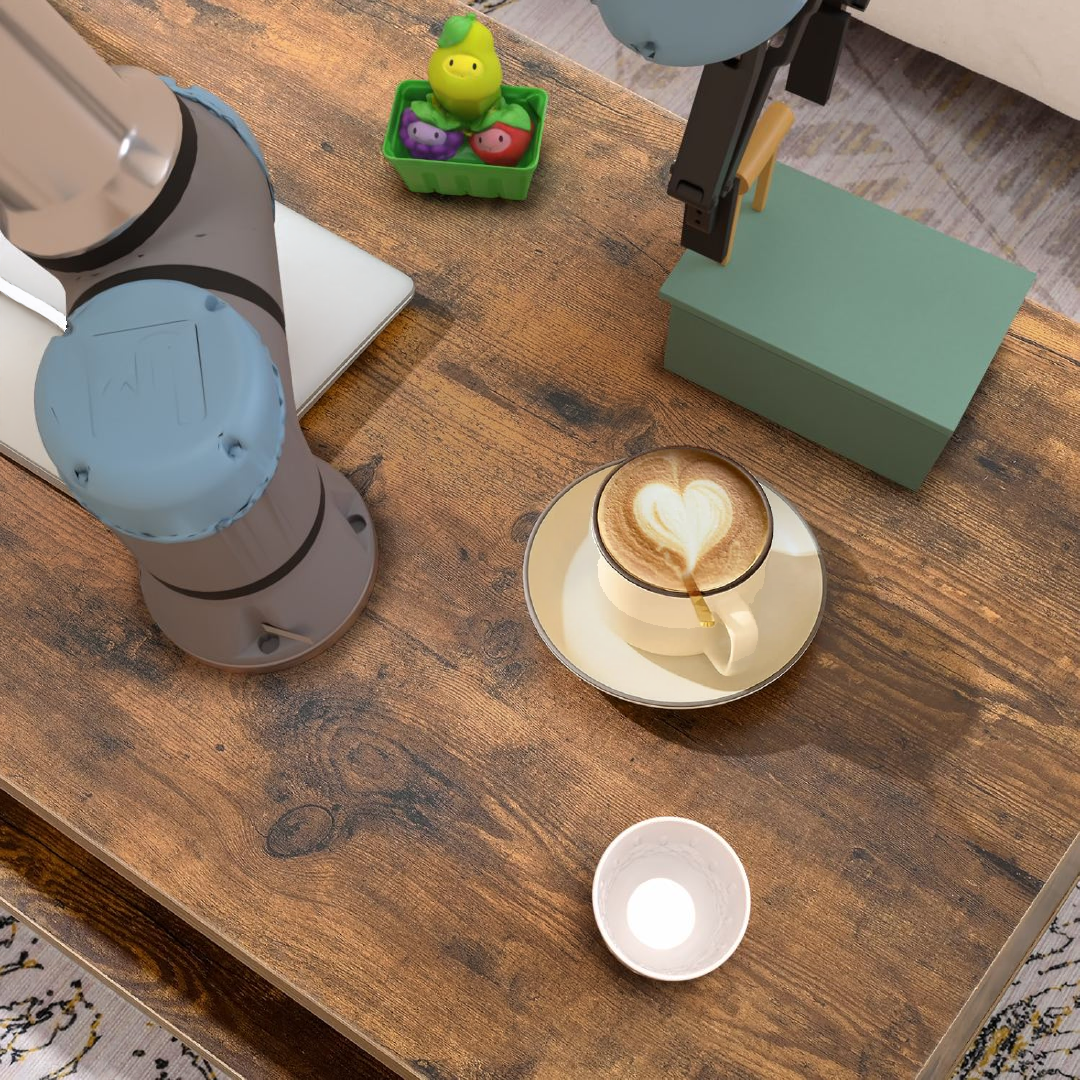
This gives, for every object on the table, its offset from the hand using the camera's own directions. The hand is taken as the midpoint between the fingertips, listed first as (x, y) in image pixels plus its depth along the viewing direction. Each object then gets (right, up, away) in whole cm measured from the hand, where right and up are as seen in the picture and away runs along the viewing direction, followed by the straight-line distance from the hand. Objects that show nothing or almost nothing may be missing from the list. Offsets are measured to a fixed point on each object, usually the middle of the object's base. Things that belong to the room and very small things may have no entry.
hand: (756, 170), depth 70 cm
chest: (+7, -10, +11) cm, 17 cm away
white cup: (-6, -44, -3) cm, 45 cm away
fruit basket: (-18, +6, +19) cm, 27 cm away
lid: (+7, -6, +4) cm, 10 cm away
